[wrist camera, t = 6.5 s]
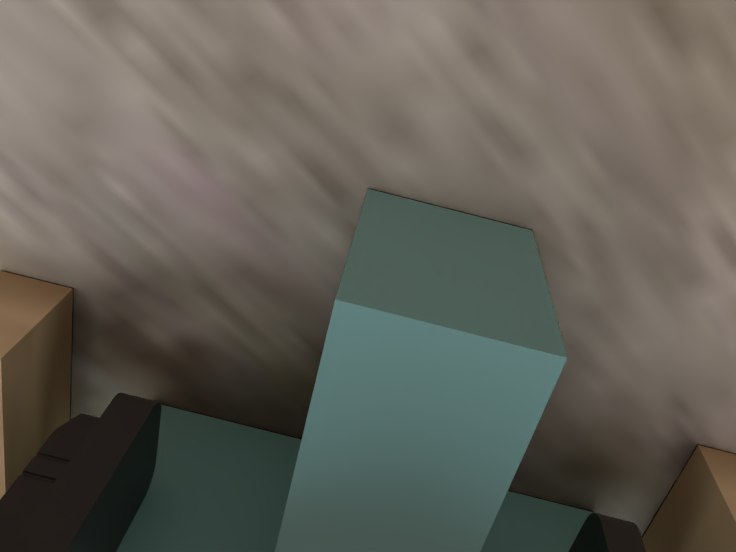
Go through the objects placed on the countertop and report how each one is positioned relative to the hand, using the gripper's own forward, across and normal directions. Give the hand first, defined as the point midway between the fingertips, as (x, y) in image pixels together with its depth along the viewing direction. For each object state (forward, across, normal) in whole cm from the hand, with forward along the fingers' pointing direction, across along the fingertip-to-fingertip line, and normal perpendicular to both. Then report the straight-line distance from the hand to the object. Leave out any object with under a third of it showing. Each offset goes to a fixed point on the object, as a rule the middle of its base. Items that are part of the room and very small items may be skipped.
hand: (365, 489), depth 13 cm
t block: (+2, 0, 0) cm, 2 cm away
